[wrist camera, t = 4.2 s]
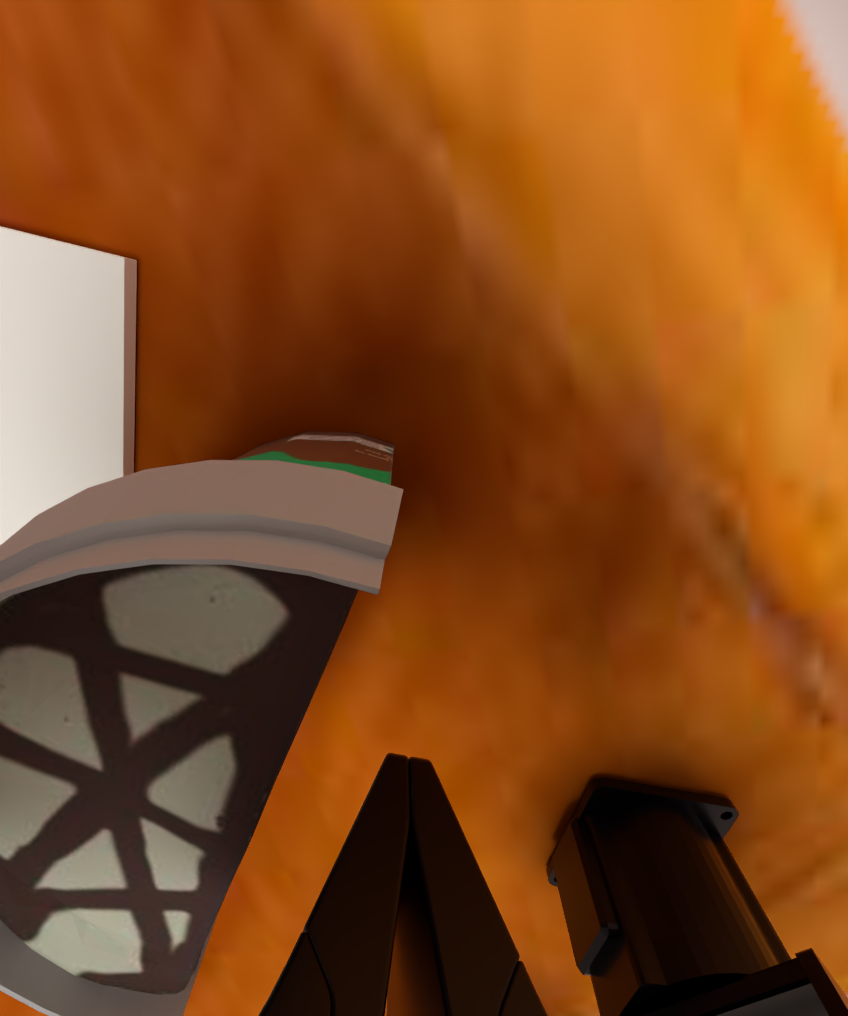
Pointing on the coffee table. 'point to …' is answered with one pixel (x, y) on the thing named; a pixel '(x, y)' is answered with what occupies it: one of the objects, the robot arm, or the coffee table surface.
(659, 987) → the robot arm
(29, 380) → the white flat rectangular board
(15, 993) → the food container
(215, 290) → the coffee table surface
